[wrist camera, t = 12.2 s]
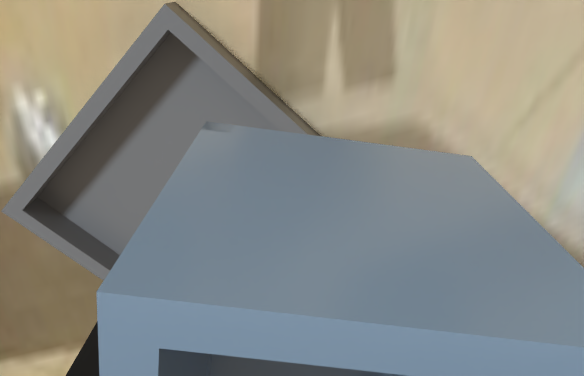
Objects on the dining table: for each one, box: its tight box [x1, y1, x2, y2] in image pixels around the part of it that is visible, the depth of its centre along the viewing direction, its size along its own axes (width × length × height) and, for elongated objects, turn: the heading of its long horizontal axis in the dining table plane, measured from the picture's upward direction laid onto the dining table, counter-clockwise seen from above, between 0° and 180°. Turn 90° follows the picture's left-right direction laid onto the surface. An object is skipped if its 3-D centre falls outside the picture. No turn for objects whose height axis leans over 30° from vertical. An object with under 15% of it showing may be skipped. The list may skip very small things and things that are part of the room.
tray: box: [2, 2, 320, 280], centre depth 34 cm, size 19×18×3 cm
